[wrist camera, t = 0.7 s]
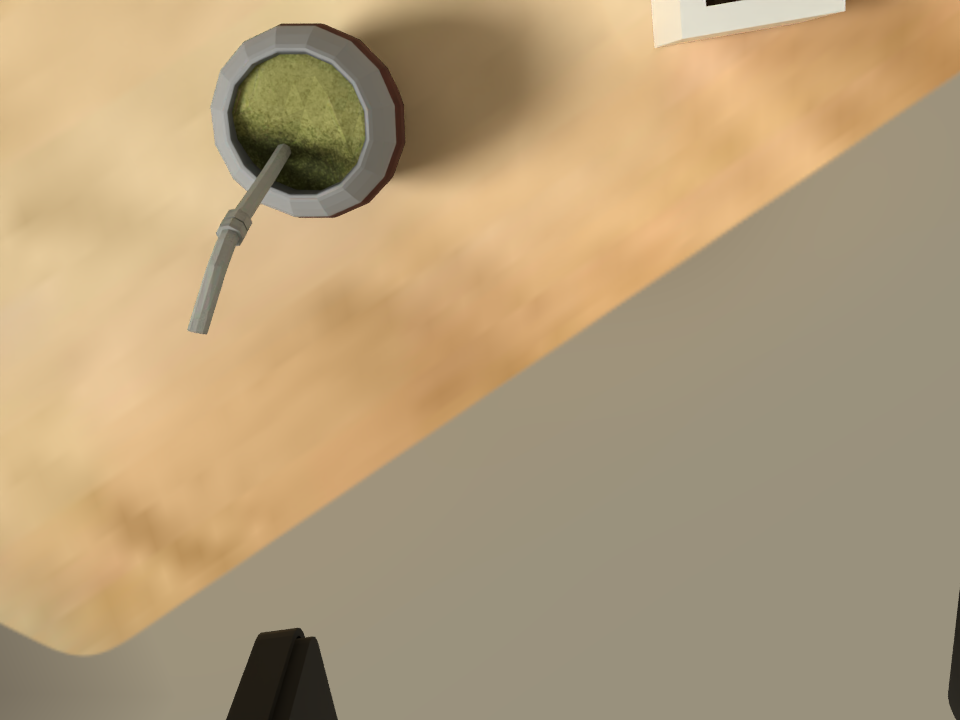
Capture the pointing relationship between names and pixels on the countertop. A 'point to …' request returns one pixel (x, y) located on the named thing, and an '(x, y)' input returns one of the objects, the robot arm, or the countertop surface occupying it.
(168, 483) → the countertop surface
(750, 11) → the housing
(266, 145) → the mate gourd
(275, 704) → the robot arm
